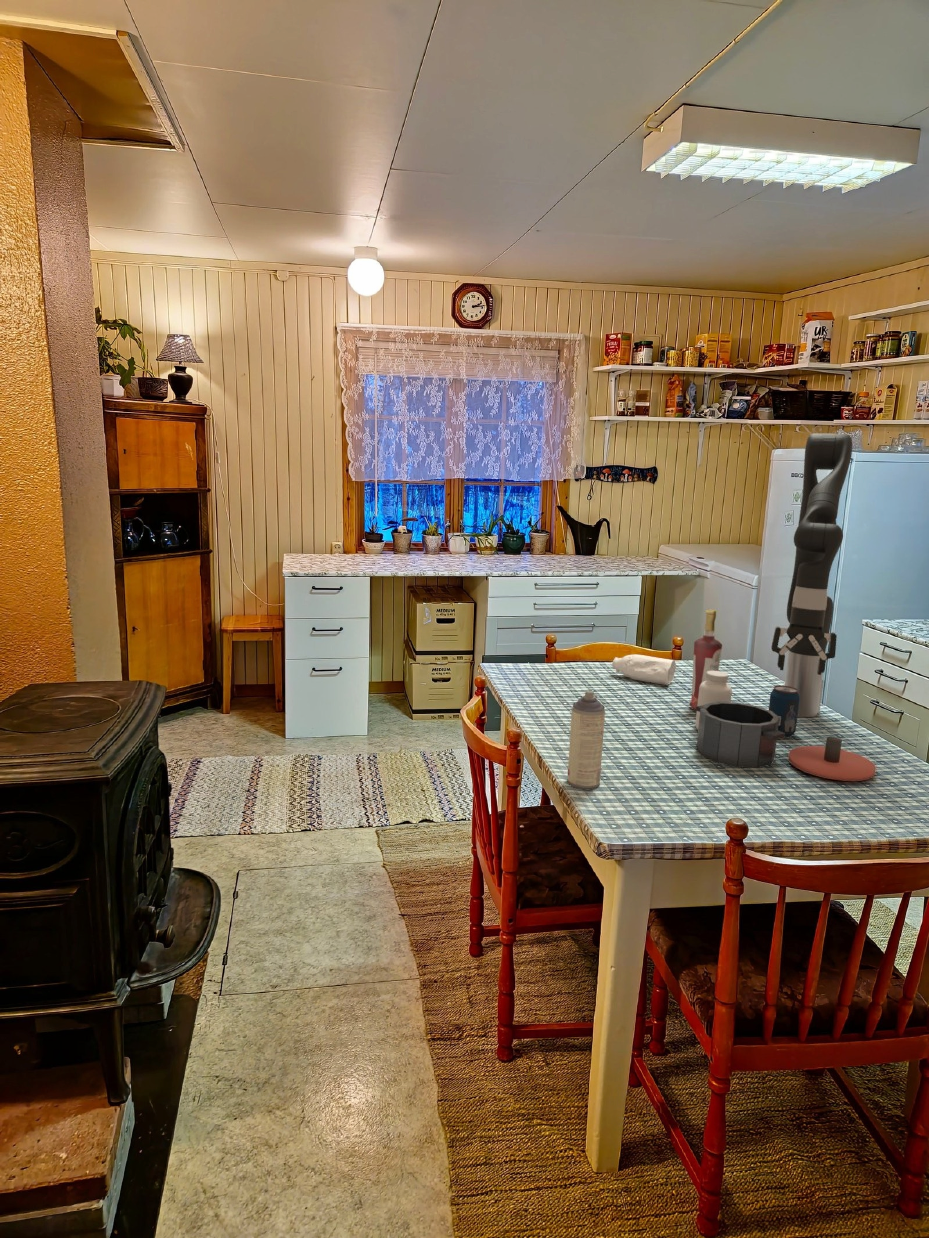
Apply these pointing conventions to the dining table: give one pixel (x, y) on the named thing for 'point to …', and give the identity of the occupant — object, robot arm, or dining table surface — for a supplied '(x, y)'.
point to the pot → (738, 734)
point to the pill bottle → (713, 690)
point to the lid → (832, 762)
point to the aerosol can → (586, 742)
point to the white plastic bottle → (646, 668)
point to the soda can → (785, 708)
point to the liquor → (705, 656)
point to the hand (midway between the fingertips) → (799, 672)
